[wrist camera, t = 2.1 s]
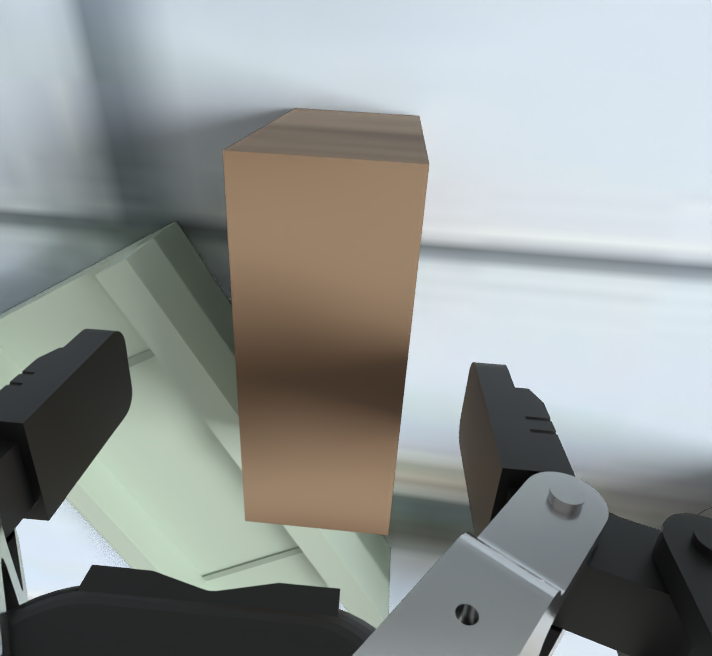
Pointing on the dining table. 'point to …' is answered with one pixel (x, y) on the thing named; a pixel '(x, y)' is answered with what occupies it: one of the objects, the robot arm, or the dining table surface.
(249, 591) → the robot arm
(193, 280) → the ledge
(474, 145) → the dining table surface
